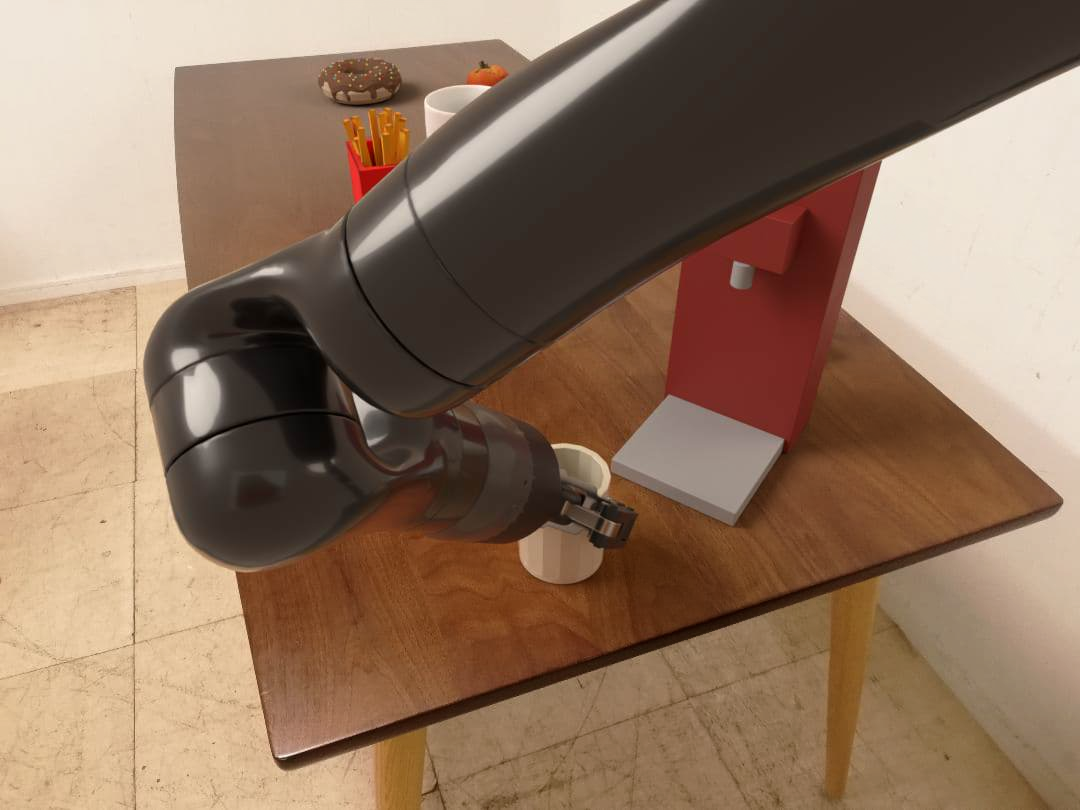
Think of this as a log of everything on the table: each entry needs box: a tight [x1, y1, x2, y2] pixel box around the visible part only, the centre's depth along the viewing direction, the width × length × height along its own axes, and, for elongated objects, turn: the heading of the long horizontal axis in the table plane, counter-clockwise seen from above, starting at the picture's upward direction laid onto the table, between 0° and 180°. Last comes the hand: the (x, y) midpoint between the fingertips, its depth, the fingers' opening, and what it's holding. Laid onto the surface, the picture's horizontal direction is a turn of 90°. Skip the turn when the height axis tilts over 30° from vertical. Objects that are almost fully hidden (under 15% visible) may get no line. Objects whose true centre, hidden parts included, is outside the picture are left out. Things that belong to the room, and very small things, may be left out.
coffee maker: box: [610, 160, 883, 527], centre depth 63 cm, size 16×12×27 cm
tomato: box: [464, 59, 510, 87], centre depth 141 cm, size 8×7×7 cm
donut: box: [317, 57, 403, 105], centre depth 139 cm, size 14×14×5 cm
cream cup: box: [517, 442, 612, 585], centre depth 59 cm, size 6×6×8 cm
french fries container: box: [341, 107, 411, 204], centre depth 97 cm, size 7×9×14 cm
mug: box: [423, 84, 491, 139], centre depth 107 cm, size 15×11×13 cm
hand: (574, 496), depth 60 cm, fingers closed on cream cup, 6 cm apart
